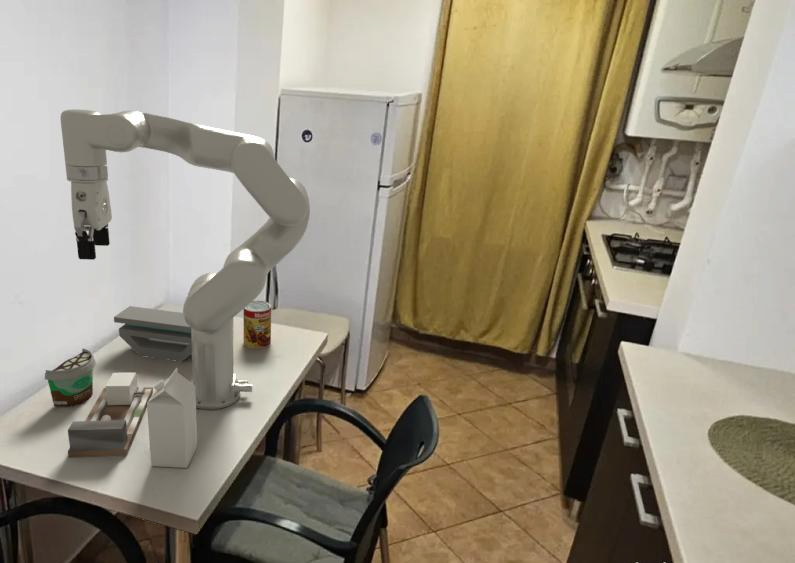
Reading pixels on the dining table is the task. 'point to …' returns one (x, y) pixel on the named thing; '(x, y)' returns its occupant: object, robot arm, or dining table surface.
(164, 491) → the dining table surface
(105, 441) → the gauge board
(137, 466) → the dining table surface
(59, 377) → the food container
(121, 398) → the gauge carriage
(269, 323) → the canned food
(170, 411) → the milk carton
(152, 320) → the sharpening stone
